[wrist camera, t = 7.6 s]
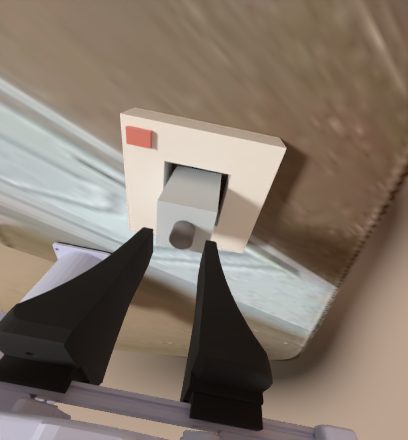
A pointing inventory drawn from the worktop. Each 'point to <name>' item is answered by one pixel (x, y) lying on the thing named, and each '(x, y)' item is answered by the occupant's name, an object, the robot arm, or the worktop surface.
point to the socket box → (200, 158)
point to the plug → (188, 209)
